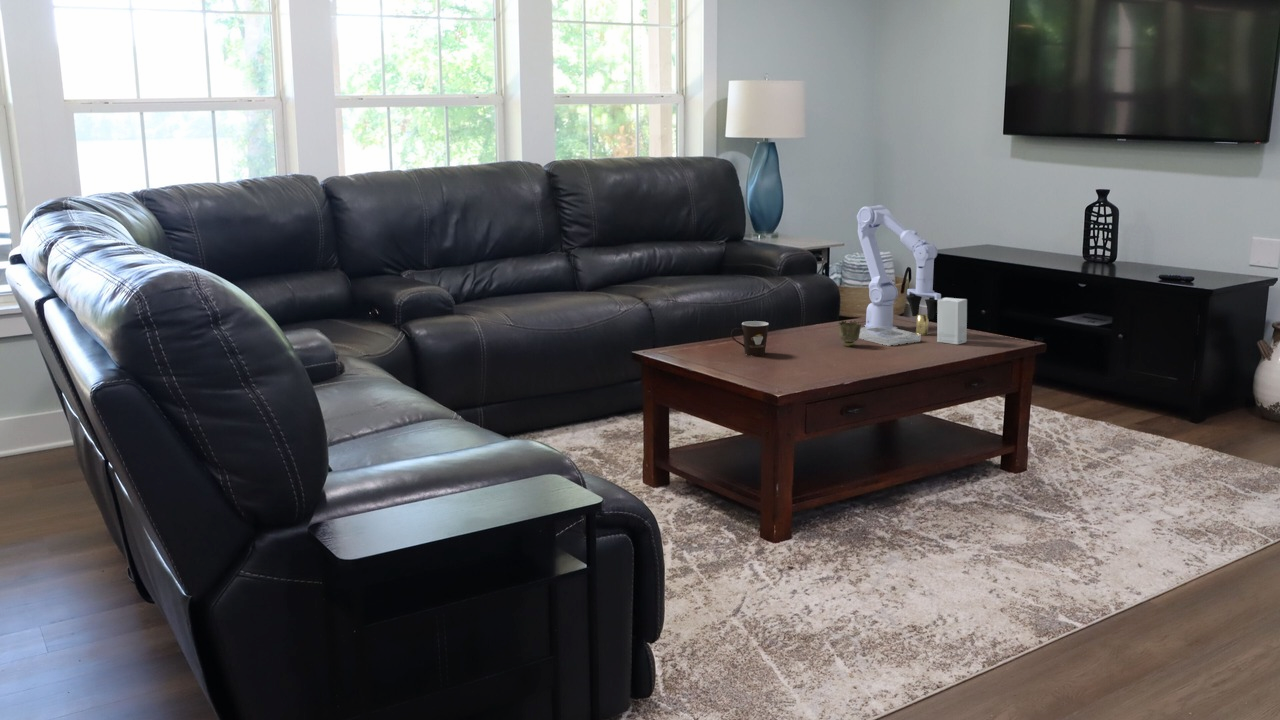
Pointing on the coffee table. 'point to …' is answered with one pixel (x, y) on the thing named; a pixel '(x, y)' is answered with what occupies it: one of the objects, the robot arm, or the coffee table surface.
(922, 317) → the brass sleeve
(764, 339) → the coffee mug
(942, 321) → the skincare box
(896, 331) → the jig plate
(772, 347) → the coffee table surface
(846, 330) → the cup
